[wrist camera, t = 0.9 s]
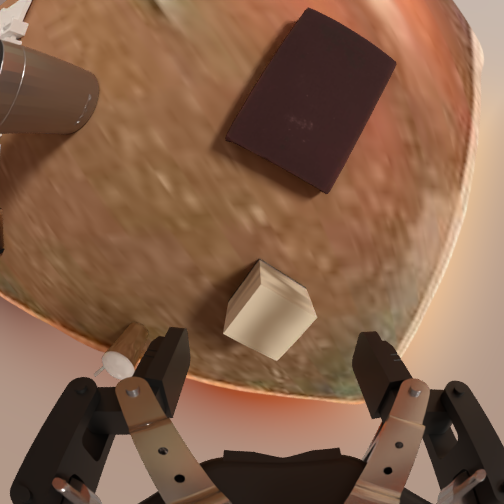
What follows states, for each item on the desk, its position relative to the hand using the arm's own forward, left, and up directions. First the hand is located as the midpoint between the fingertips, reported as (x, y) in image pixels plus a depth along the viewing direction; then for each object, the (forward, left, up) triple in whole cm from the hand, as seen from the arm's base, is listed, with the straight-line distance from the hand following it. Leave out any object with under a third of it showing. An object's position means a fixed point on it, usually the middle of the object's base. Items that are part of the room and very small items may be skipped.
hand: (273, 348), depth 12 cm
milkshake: (-7, -22, -21) cm, 31 cm away
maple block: (+5, -6, -21) cm, 22 cm away
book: (-4, +17, -21) cm, 27 cm away
